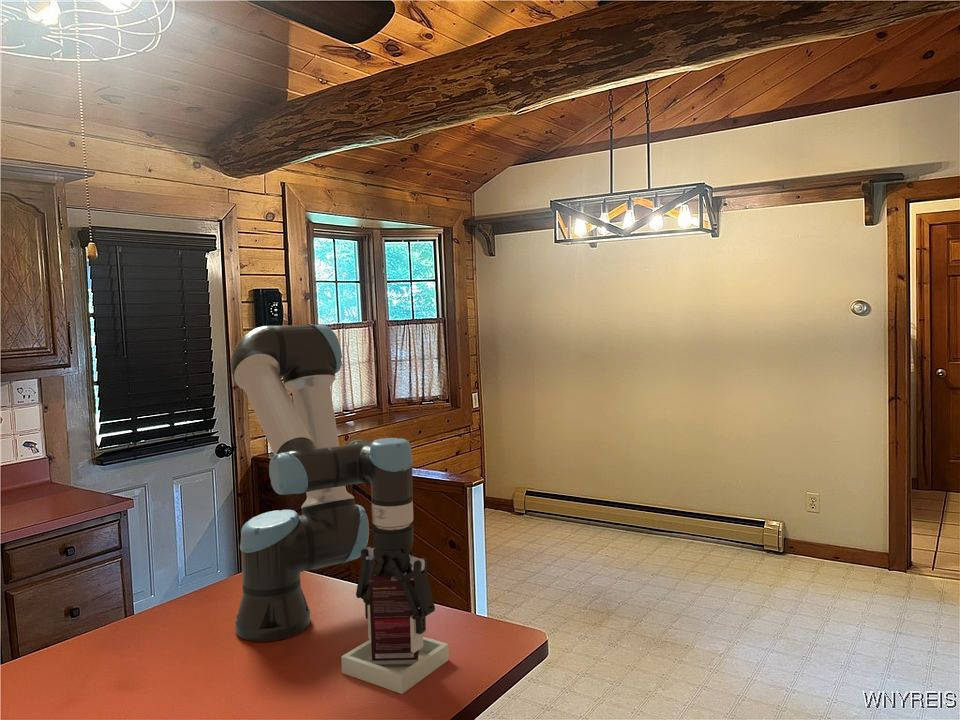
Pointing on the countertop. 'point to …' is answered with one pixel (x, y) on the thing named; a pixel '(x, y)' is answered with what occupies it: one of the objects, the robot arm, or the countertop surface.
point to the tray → (395, 666)
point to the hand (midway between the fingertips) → (395, 642)
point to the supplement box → (390, 621)
